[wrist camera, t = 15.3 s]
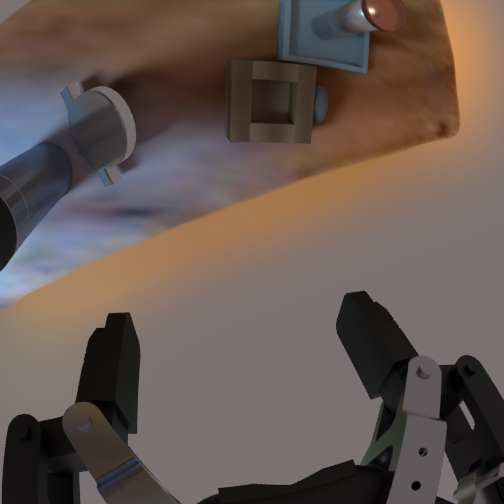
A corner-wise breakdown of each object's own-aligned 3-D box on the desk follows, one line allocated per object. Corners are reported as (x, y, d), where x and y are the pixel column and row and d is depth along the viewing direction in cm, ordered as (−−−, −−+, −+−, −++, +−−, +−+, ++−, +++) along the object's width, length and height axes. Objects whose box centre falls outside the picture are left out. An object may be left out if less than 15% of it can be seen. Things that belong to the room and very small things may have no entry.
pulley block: (224, 133, 38) (230, 141, 33) (226, 63, 33) (232, 59, 28) (311, 136, 40) (328, 144, 35) (316, 70, 35) (335, 70, 30)
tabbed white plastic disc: (54, 99, 29) (60, 76, 21) (103, 74, 32) (126, 47, 24) (97, 188, 37) (116, 195, 29) (141, 160, 41) (173, 159, 33)
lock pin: (307, 39, 32) (367, 23, 19) (309, 9, 29) (367, -18, 16) (339, 45, 32) (407, 36, 20) (340, 16, 30) (406, -2, 17)
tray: (277, 61, 34) (282, 60, 32) (280, -17, 27) (286, -22, 25) (358, 73, 36) (367, 74, 34) (361, 2, 29) (370, -1, 27)
